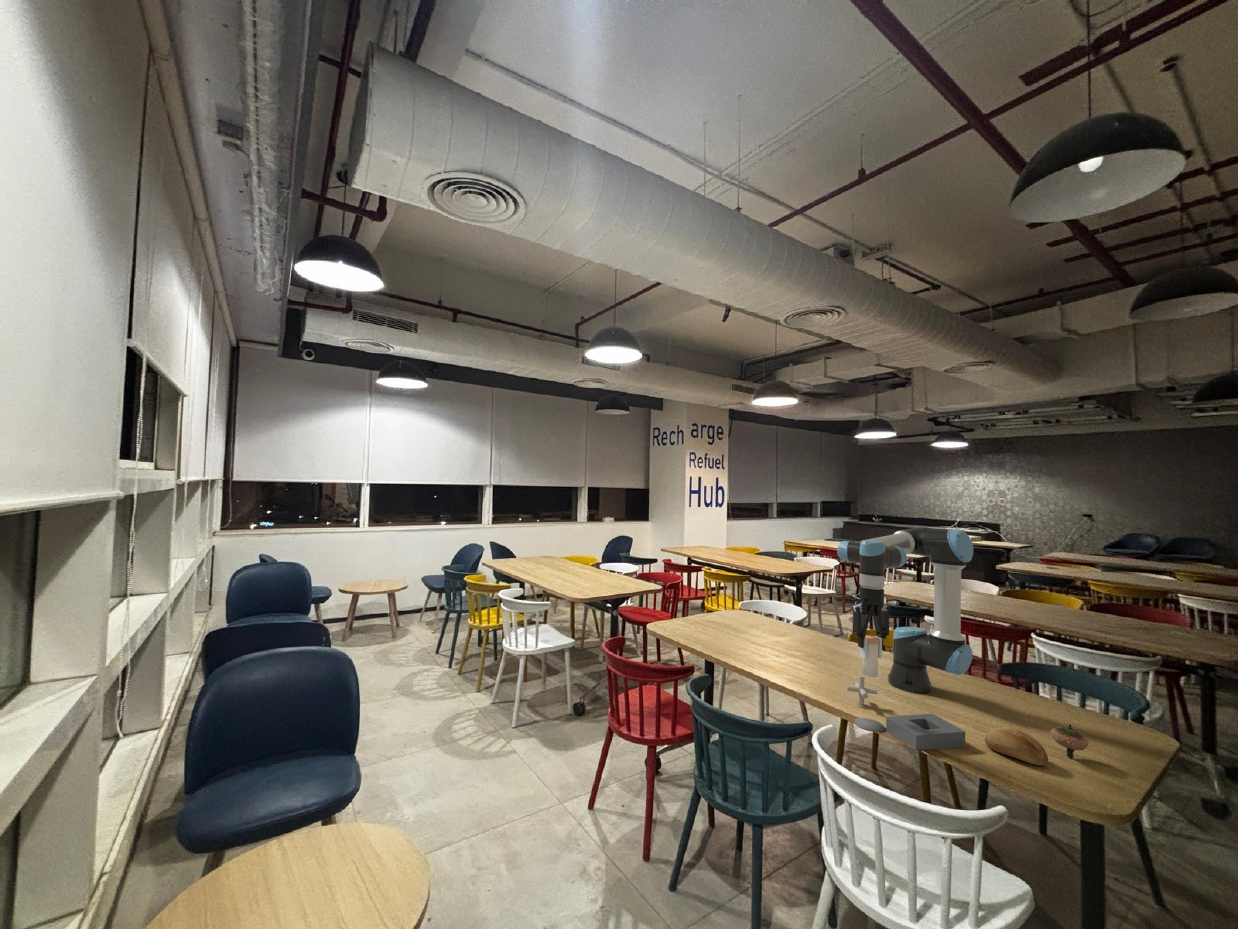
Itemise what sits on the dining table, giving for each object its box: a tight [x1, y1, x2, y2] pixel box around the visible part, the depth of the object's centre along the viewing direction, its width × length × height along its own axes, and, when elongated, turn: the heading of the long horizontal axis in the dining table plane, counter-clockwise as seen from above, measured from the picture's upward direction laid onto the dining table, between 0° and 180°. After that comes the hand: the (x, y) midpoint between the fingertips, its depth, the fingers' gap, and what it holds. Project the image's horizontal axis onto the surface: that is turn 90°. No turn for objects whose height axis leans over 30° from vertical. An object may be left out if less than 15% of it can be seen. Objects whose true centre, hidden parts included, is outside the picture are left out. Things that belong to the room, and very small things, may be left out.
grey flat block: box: [885, 713, 966, 752], centre depth 154 cm, size 18×12×4 cm, turn 102°
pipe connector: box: [845, 675, 878, 706], centre depth 178 cm, size 10×10×10 cm
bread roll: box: [984, 726, 1049, 766], centre depth 145 cm, size 10×15×8 cm, turn 39°
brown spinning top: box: [1050, 723, 1089, 759], centre depth 146 cm, size 8×8×10 cm
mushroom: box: [862, 634, 879, 678], centre depth 162 cm, size 5×5×12 cm
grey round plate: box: [853, 717, 886, 733], centre depth 161 cm, size 9×9×1 cm
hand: (870, 657), depth 162 cm, fingers closed on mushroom, 5 cm apart
